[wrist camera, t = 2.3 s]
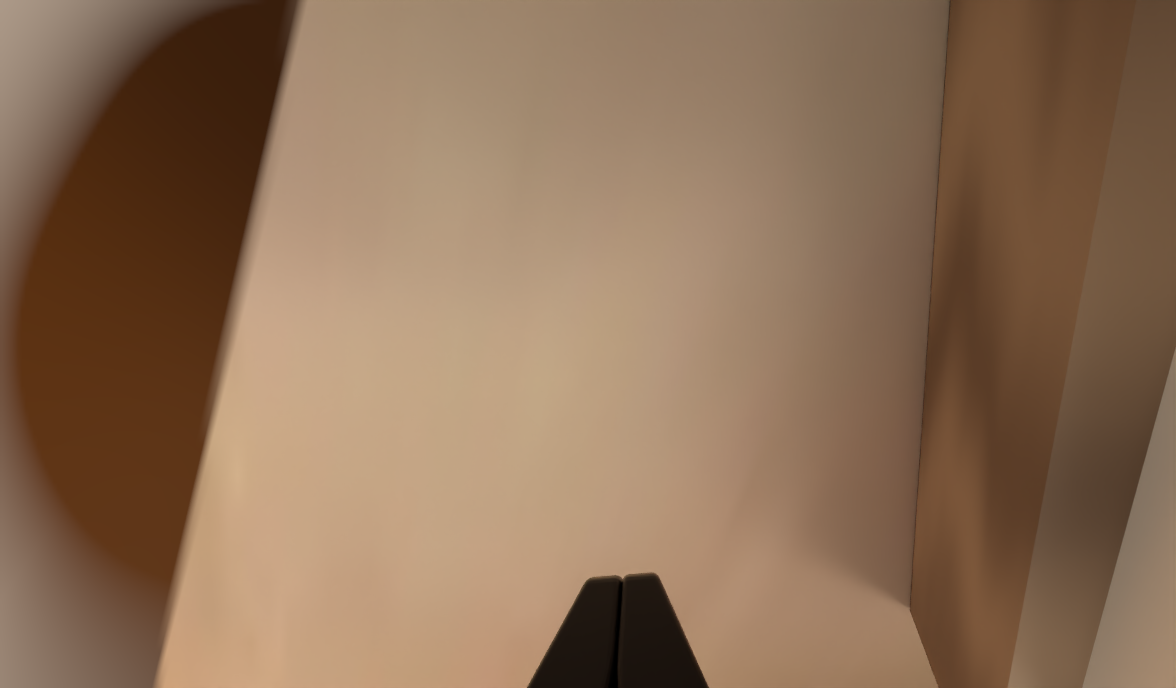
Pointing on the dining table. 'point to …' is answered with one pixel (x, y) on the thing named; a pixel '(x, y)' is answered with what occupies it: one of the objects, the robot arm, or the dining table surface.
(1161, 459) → the cream rectangular tile
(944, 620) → the brown wooden flat block
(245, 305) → the dining table surface
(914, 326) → the dining table surface
